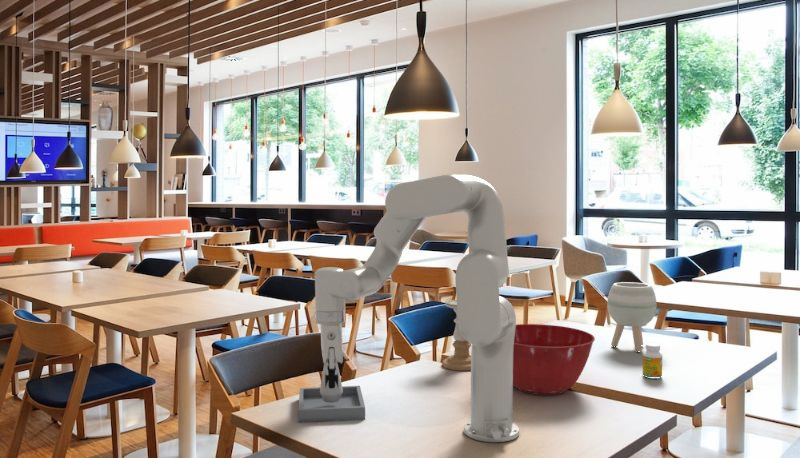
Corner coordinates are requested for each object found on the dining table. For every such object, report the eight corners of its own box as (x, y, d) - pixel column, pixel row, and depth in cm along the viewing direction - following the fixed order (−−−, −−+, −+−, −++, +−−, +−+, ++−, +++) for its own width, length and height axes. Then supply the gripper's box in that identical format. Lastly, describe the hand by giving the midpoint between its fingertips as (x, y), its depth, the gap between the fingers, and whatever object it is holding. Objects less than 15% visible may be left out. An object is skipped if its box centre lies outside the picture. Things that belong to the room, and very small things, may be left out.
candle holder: (449, 372, 207) (450, 306, 206) (436, 362, 219) (437, 300, 217) (487, 369, 210) (487, 304, 209) (472, 359, 222) (473, 298, 221)
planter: (596, 346, 240) (597, 283, 239) (631, 341, 247) (632, 280, 246) (629, 356, 226) (631, 289, 224) (666, 351, 233) (667, 286, 231)
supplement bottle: (641, 378, 200) (641, 345, 200) (643, 373, 205) (644, 341, 205) (660, 380, 198) (661, 347, 197) (663, 376, 203) (663, 343, 202)
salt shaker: (339, 404, 170) (338, 352, 169) (317, 403, 171) (316, 351, 170) (345, 397, 175) (345, 347, 175) (324, 396, 177) (323, 346, 176)
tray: (365, 419, 166) (365, 407, 165) (298, 422, 164) (298, 410, 163) (359, 396, 183) (359, 385, 183) (299, 399, 181) (299, 388, 181)
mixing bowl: (593, 377, 201) (594, 326, 200) (594, 408, 173) (595, 348, 172) (497, 371, 208) (498, 321, 207) (483, 399, 181) (483, 341, 180)
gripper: (347, 322, 164) (348, 397, 165) (343, 310, 180) (344, 378, 182) (315, 323, 163) (316, 398, 164) (315, 311, 180) (316, 380, 181)
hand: (331, 387), depth 173 cm, fingers closed on salt shaker, 3 cm apart
